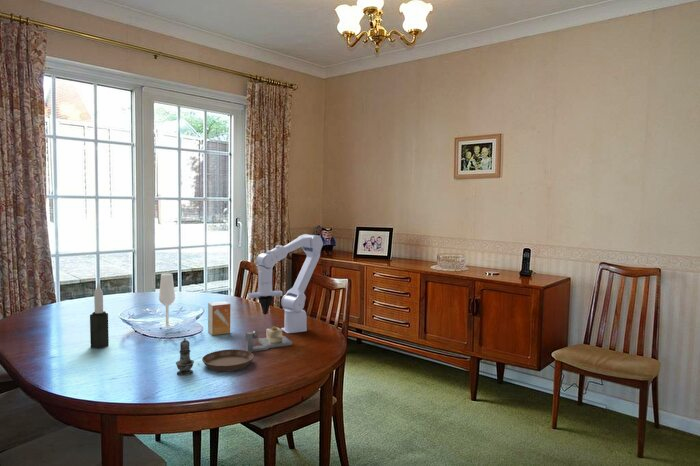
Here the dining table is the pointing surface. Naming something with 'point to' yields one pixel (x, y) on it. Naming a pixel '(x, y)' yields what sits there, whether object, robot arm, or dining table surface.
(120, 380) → the dining table surface
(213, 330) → the small box
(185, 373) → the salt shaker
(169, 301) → the champagne flute
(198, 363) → the dining table surface
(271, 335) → the block
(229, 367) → the plant saucer
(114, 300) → the dining table surface
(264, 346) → the grey panel board
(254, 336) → the lever
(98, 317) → the black and grey bottle
